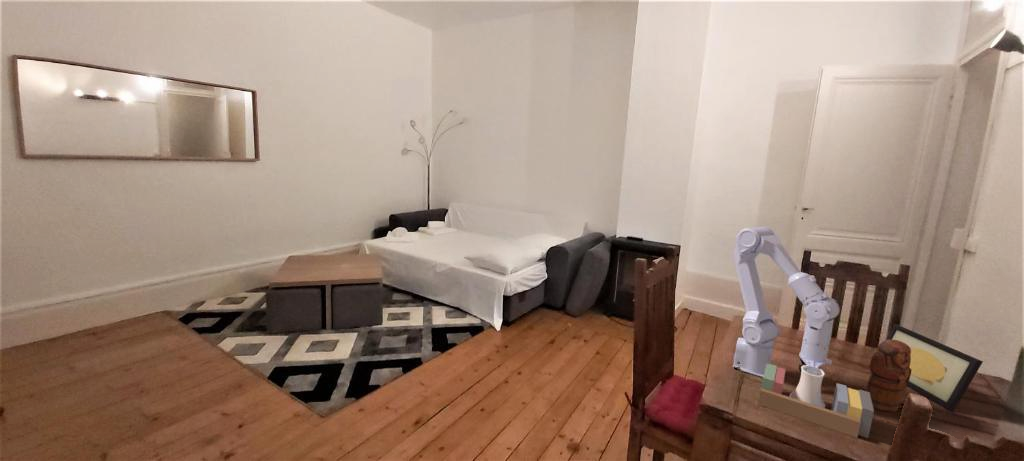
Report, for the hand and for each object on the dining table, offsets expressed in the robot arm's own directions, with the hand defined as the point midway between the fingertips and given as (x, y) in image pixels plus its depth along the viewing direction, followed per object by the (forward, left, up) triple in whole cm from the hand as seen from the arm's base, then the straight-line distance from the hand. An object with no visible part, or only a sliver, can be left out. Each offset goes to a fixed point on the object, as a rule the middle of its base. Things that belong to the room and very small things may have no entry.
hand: (807, 387), depth 111 cm
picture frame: (+27, +27, -2) cm, 39 cm away
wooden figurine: (+17, +8, -2) cm, 19 cm away
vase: (0, -7, -2) cm, 7 cm away
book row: (+1, -9, -2) cm, 9 cm away
